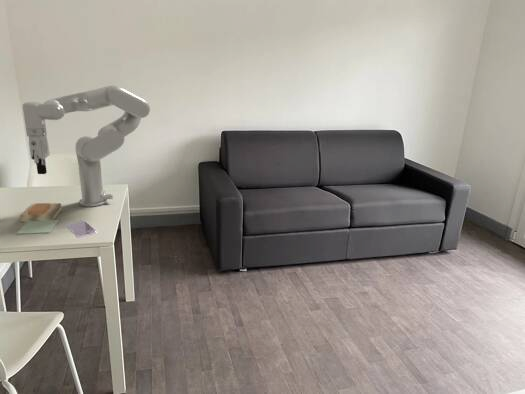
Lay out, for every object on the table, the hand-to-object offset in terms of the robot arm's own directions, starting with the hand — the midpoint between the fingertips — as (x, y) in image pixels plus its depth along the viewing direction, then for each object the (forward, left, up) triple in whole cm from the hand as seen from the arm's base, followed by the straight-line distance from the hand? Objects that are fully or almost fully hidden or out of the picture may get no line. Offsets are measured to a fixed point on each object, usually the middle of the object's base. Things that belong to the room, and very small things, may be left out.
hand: (42, 173), depth 178 cm
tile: (0, +10, -14) cm, 17 cm away
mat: (-3, +21, -17) cm, 27 cm away
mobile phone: (-20, +24, -18) cm, 36 cm away
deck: (0, +8, -17) cm, 18 cm away
